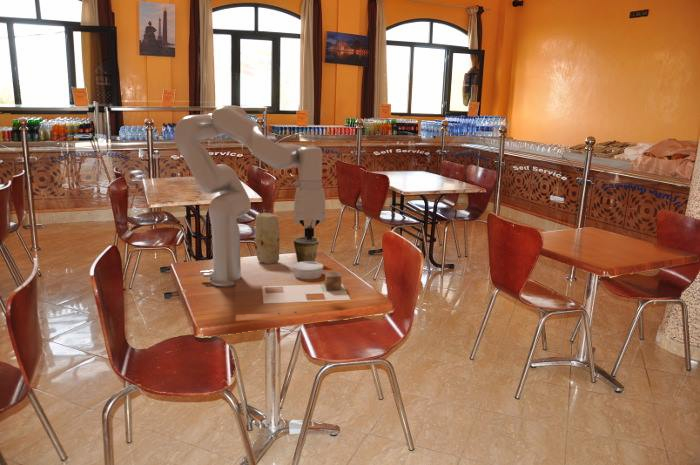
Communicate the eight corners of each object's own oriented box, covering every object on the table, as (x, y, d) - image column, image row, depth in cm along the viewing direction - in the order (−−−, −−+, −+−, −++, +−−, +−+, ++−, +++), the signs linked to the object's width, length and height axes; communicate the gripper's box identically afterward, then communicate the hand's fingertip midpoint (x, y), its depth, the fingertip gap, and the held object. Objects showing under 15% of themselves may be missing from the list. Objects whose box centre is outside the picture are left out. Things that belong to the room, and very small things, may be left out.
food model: (280, 260, 230) (280, 212, 225) (278, 265, 224) (278, 215, 219) (256, 259, 230) (255, 211, 225) (253, 264, 224) (252, 214, 219)
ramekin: (325, 275, 213) (325, 261, 212) (320, 284, 202) (320, 270, 201) (295, 273, 214) (295, 260, 213) (289, 283, 203) (289, 269, 202)
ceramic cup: (321, 266, 223) (321, 242, 220) (296, 268, 220) (296, 243, 218) (313, 257, 235) (313, 234, 233) (289, 258, 232) (289, 235, 230)
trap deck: (263, 307, 180) (263, 303, 179) (262, 290, 195) (262, 286, 194) (350, 304, 184) (350, 299, 184) (342, 287, 200) (342, 283, 199)
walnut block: (326, 290, 192) (326, 276, 191) (324, 285, 197) (325, 272, 195) (341, 290, 193) (341, 276, 191) (339, 285, 197) (339, 271, 196)
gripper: (287, 186, 180) (287, 242, 185) (334, 186, 183) (332, 241, 187) (286, 182, 187) (286, 236, 192) (331, 183, 190) (329, 235, 194)
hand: (309, 238), depth 190 cm, fingers closed
